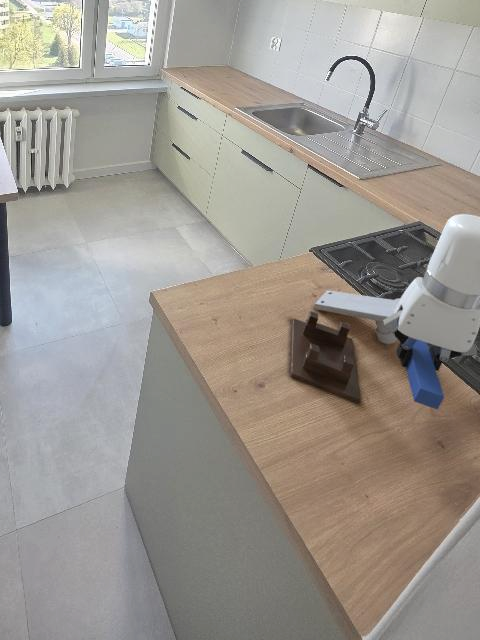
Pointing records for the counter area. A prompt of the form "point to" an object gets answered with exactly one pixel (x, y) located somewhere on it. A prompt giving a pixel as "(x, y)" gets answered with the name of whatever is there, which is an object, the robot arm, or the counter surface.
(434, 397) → the blue bar
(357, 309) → the door handle
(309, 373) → the holder
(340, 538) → the counter surface
